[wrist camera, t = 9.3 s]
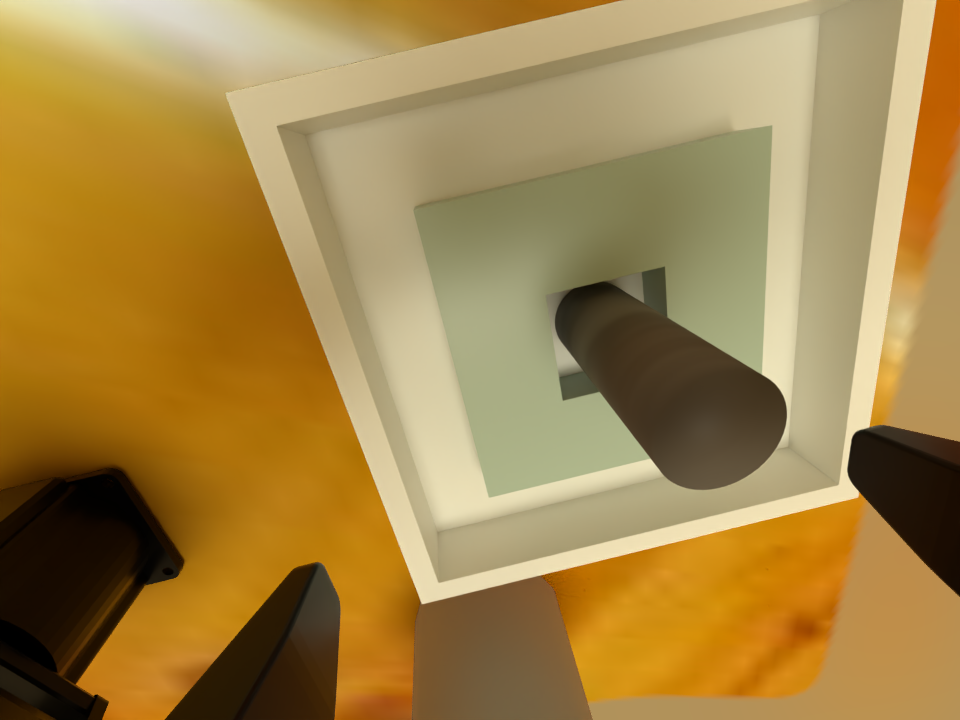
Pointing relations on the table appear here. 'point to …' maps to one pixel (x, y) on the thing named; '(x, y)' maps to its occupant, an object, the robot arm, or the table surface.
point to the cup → (496, 657)
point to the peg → (672, 388)
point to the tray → (568, 121)
